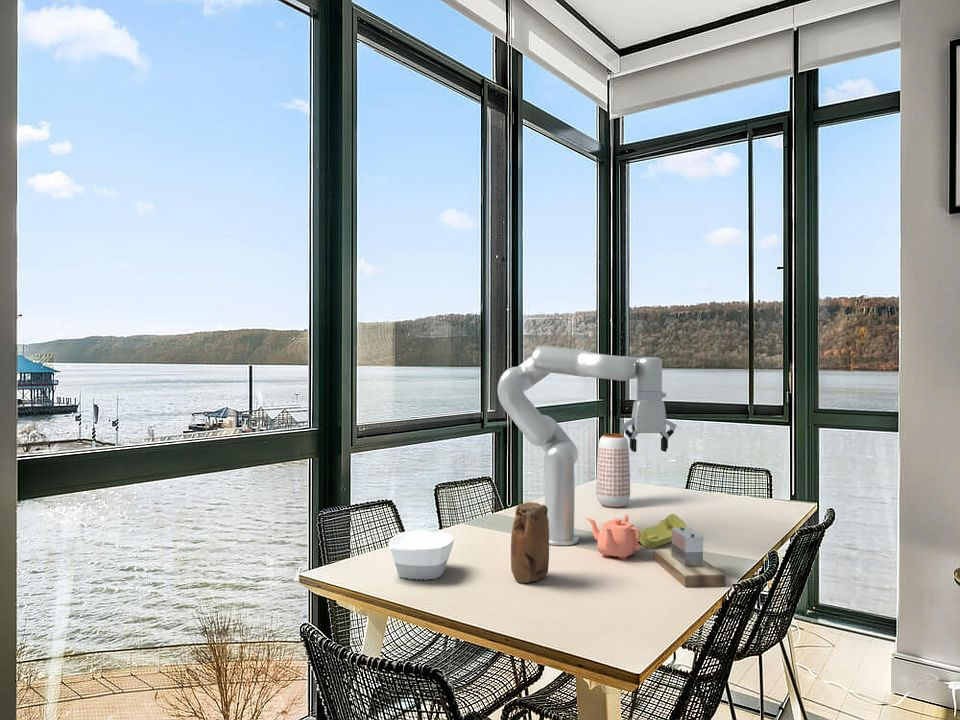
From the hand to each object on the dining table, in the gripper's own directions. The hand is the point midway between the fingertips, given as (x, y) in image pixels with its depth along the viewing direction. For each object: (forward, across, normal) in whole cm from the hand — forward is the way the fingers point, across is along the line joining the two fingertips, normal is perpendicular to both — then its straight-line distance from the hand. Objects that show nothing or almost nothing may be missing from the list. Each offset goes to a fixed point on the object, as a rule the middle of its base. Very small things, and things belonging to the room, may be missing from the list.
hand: (648, 451), depth 218 cm
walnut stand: (+30, -3, +24) cm, 39 cm away
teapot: (+31, +13, +6) cm, 34 cm away
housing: (+27, -3, +24) cm, 36 cm away
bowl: (+31, +71, +19) cm, 80 cm away
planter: (+31, -6, -58) cm, 66 cm away
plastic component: (+31, -6, -7) cm, 32 cm away
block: (+31, +42, +26) cm, 58 cm away
